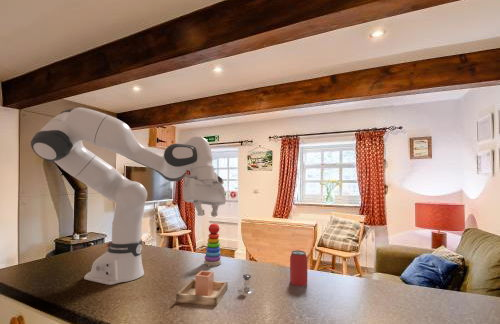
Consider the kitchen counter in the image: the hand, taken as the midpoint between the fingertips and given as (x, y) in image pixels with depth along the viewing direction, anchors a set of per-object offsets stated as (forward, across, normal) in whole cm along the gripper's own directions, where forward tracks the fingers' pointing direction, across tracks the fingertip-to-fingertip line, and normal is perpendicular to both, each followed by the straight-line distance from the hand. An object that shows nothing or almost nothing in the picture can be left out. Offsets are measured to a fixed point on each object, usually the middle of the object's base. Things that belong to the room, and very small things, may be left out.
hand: (208, 215), depth 91 cm
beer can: (+29, +31, -15) cm, 45 cm away
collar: (+25, +4, +9) cm, 27 cm away
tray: (+26, +4, +9) cm, 27 cm away
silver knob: (+28, +14, -2) cm, 31 cm away
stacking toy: (+15, +32, +25) cm, 44 cm away
